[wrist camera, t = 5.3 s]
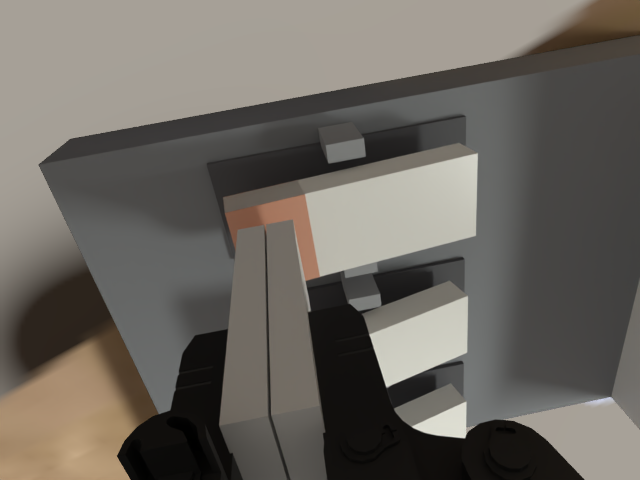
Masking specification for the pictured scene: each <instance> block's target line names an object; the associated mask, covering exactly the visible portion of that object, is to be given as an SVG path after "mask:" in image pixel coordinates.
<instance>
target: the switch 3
mask: <svg viewBox="0 0 640 480" xmlns="http://www.w3.org/2000/svg"><path fill="white" fill-rule="evenodd" d="M394 410H395V412H396V413H397V414H398V416H399V417H400V418H401V419H402V420H403V421H404V422H405V423H407V424H408V425H410V426H411V427H412V428H415V429H417V430H419V431H422V432H424V433H428V434H433V435H438V436H448V437H457V438H465V437H466V400H465V399H464V398H463V397H462V396H461V395H460V393H459V392H458V391H457V390H456V389H455V388H454V387H453V385H452V384H451V383H450V384H448V385H446V386H444V387H441V388H439V389H437V390H435V391H432V392H430V393H428V394H426V395H423V396H421V397H419V398H417V399H414V400H412V401H410V402H408V403H405V404H403V405H401V406H398V407H396V408H394Z"/></svg>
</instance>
